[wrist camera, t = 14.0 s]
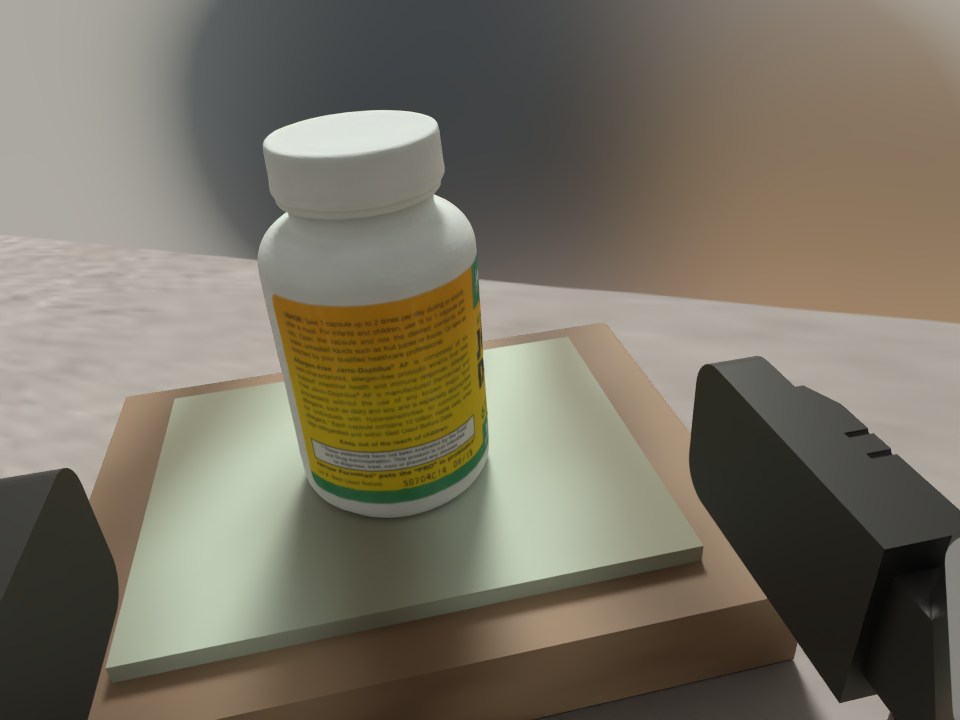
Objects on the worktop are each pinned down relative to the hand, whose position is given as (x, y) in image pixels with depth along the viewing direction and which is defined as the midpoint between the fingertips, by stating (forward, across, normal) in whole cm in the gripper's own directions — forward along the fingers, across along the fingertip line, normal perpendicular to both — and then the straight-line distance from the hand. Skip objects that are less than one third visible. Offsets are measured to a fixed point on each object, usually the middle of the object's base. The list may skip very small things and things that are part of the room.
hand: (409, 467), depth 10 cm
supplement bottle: (+10, 0, +8) cm, 12 cm away
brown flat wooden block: (+10, 0, +10) cm, 14 cm away
